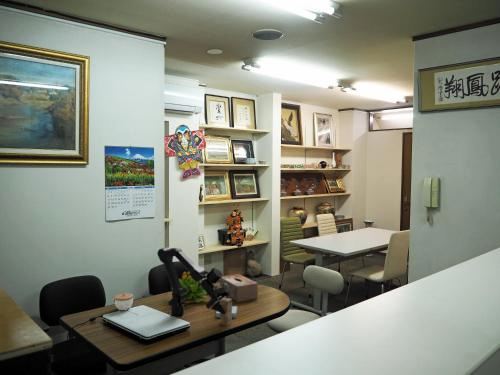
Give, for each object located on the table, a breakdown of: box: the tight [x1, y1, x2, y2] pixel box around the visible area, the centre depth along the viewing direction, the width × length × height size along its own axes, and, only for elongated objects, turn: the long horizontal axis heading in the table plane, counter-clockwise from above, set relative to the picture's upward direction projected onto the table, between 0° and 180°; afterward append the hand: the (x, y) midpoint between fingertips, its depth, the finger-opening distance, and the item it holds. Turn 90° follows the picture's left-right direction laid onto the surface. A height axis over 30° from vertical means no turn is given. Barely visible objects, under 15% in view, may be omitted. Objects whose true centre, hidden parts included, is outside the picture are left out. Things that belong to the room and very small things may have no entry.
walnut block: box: [219, 297, 233, 327], centre depth 217 cm, size 4×4×13 cm
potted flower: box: [170, 271, 210, 304], centre depth 255 cm, size 25×24×18 cm
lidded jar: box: [114, 292, 134, 311], centre depth 240 cm, size 11×11×9 cm
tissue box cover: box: [219, 273, 259, 303], centre depth 267 cm, size 26×14×10 cm, turn 29°
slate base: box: [215, 305, 238, 319], centre depth 231 cm, size 11×11×2 cm
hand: (228, 311), depth 216 cm, fingers open, 7 cm apart
